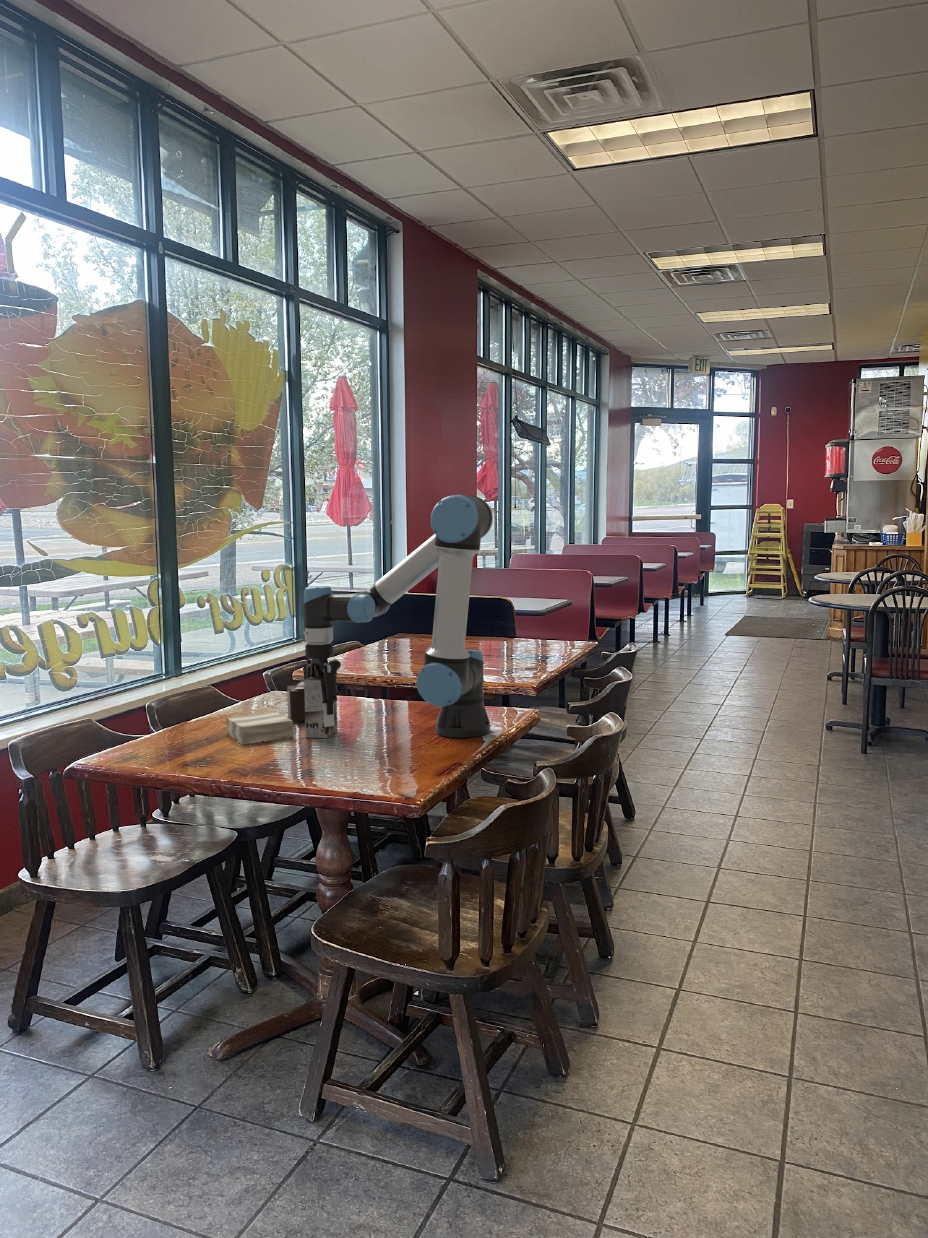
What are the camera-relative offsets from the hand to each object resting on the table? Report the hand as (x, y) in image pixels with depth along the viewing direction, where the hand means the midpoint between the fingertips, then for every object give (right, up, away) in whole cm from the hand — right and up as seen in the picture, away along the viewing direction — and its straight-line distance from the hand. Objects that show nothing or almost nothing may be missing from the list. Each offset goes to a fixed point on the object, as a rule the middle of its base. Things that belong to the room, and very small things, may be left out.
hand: (321, 722), depth 249 cm
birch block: (-17, -4, 0) cm, 17 cm away
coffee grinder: (-5, -1, +21) cm, 22 cm away
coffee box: (0, -4, 0) cm, 4 cm away
